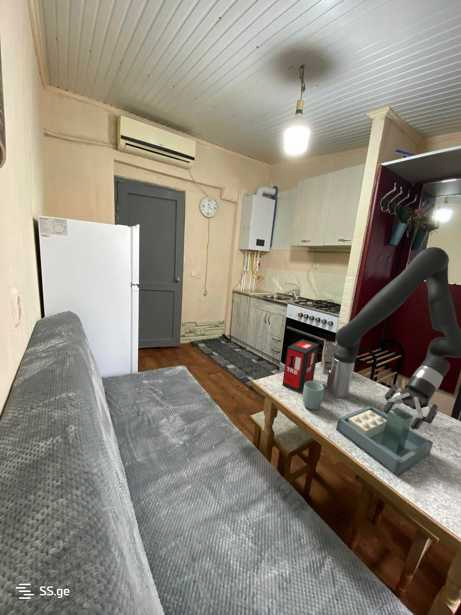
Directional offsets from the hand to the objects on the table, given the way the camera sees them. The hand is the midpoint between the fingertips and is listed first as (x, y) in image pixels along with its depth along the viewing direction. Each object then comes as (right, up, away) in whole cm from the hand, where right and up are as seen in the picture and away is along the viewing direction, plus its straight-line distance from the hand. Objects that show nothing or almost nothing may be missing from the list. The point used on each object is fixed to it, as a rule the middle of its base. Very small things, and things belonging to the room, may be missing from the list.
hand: (398, 420), depth 84 cm
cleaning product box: (-22, 0, +42) cm, 48 cm away
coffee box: (-1, +2, +58) cm, 58 cm away
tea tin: (0, -10, +3) cm, 11 cm away
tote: (-2, -10, +6) cm, 12 cm away
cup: (-22, -5, +24) cm, 33 cm away
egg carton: (-5, -9, +11) cm, 15 cm away
